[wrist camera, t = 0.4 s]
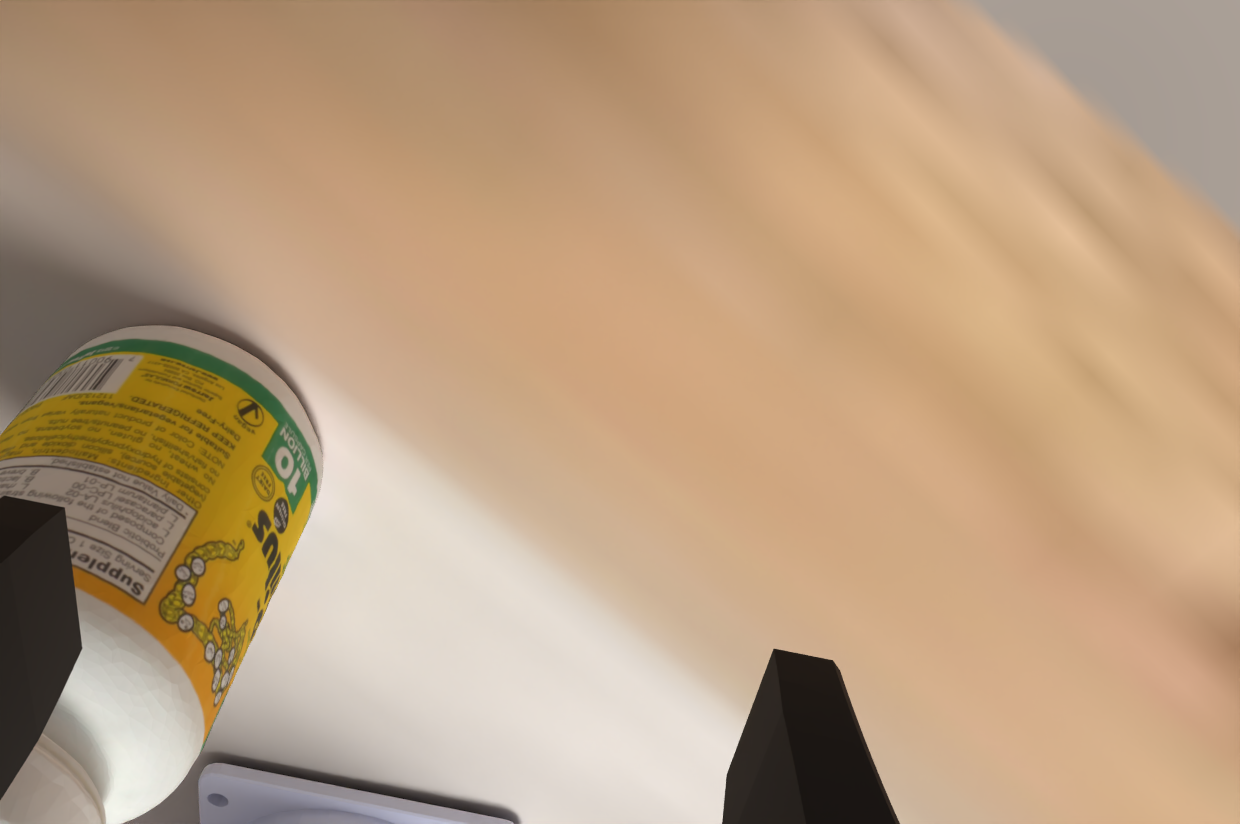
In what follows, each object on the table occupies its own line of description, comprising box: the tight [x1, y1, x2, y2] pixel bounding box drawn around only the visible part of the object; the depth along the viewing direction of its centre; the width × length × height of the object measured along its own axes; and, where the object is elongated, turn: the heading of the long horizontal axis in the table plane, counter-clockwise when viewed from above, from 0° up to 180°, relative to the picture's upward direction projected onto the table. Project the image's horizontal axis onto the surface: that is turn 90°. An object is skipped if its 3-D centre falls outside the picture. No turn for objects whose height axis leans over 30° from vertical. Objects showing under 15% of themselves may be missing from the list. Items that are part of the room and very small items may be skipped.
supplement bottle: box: [0, 325, 323, 824], centre depth 19 cm, size 5×5×10 cm
